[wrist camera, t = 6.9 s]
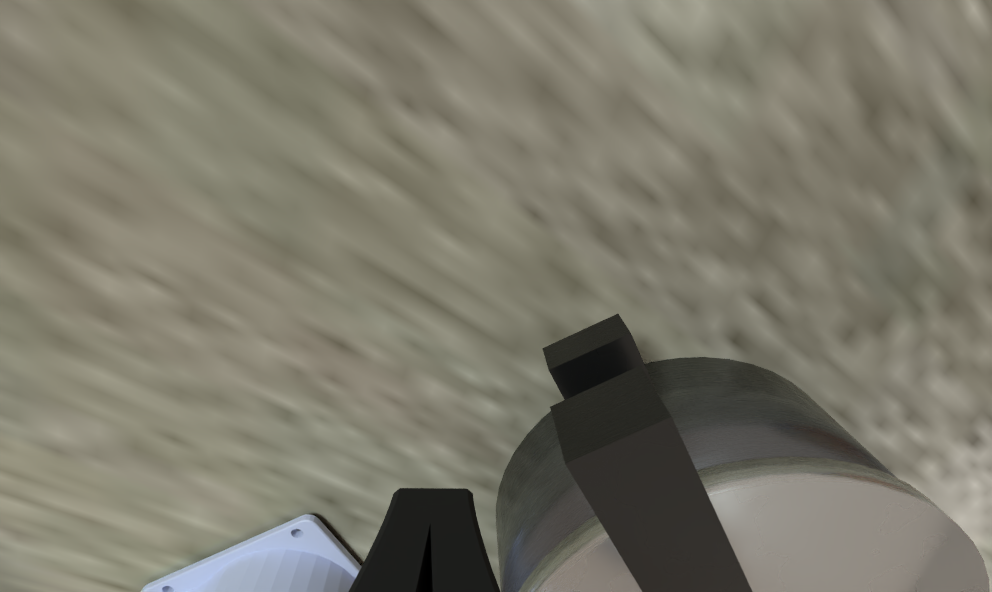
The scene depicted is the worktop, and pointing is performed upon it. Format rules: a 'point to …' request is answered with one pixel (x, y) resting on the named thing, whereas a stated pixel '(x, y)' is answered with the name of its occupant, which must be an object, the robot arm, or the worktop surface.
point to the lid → (736, 515)
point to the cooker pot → (696, 413)
